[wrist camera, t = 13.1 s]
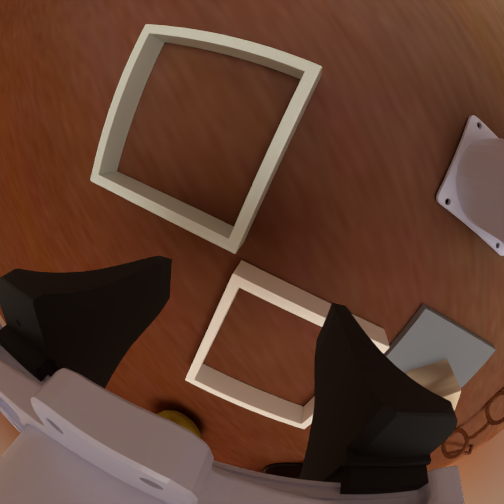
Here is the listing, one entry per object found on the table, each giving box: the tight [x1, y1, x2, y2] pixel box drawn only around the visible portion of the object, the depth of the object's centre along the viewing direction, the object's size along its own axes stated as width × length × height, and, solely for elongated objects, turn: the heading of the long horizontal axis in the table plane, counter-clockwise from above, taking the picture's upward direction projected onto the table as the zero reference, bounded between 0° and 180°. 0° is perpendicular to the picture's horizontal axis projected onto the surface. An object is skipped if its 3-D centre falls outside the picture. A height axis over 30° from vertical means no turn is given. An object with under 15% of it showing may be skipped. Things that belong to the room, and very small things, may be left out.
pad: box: [384, 304, 496, 389], centre depth 21 cm, size 13×13×1 cm
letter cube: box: [406, 359, 461, 411], centre depth 19 cm, size 4×4×5 cm
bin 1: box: [90, 24, 322, 254], centre depth 17 cm, size 14×14×2 cm
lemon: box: [157, 410, 202, 439], centre depth 28 cm, size 11×8×8 cm
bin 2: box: [185, 260, 390, 429], centre depth 23 cm, size 14×14×2 cm
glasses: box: [441, 391, 504, 459], centre depth 21 cm, size 13×13×5 cm
